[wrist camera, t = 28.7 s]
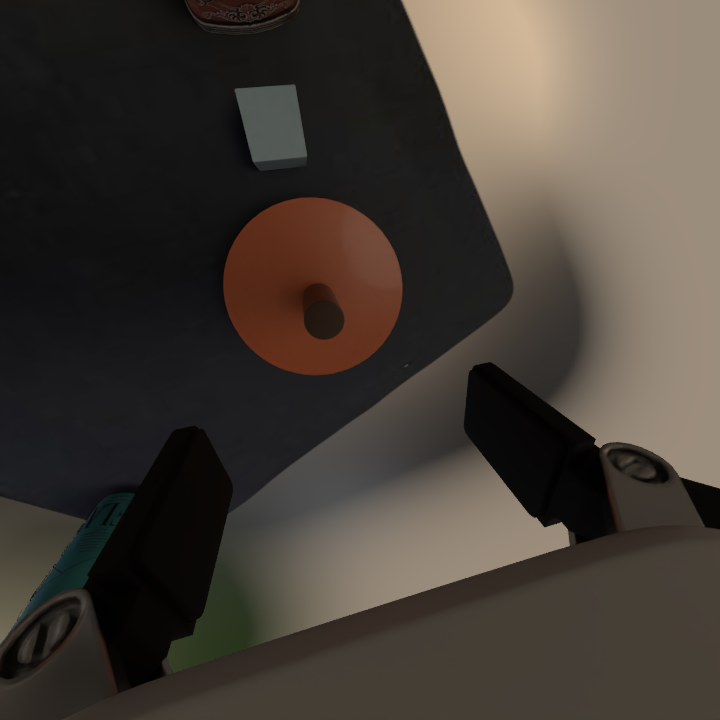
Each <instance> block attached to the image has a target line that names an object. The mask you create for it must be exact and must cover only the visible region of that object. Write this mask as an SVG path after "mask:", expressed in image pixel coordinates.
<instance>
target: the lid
mask: <svg viewBox="0 0 720 720" xmlns="http://www.w3.org/2000/svg"><path fill="white" fill-rule="evenodd" d="M223 291H224V298H225V304H226V307H227V310H228V314H229V316H230V319H231V321H232V323H233V325H234V327H235V329H236V330H237V332H238V334H239V335H240V337H241V338H242V339H243V340H244V342H245V343H246V344H247V345H248V346H249V347H250V348H251V349H252V350H253V351H254V352H255V353H256V354H258V355H259V356H260V357H262V358H263V359H264V360H266V361H268V362H269V363H271V364H273V365H275V366H277V367H279V368H281V369H284V370H287V371H290V372H294V373H299V374H306V375H325V374H332V373H336V372H340V371H343V370H346V369H349V368H351V367H353V366H355V365H357V364H359V363H361V362H362V361H364V360H365V359H367V358H368V357H370V356H371V355H372V354H373V353H374V352H375V351H376V350H377V349H378V348H379V347H380V346H381V345H382V344H383V343H384V341H385V340H386V339H387V337H388V336H389V334H390V332H391V331H392V329H393V327H394V325H395V322H396V320H397V317H398V314H399V310H400V307H401V300H402V277H401V271H400V267H399V263H398V260H397V257H396V255H395V252H394V250H393V248H392V246H391V244H390V242H389V241H388V239H387V238H386V237H385V235H384V234H383V232H382V231H381V230H380V229H379V228H378V227H377V226H376V225H375V224H374V222H372V221H371V220H370V219H369V218H367V217H366V216H365V215H364V214H362V213H361V212H359V211H357V210H356V209H354V208H352V207H350V206H348V205H345V204H343V203H341V202H337V201H334V200H330V199H325V198H315V197H308V198H296V199H291V200H286V201H284V202H281V203H278V204H275V205H273V206H271V207H269V208H268V209H266V210H264V211H262V212H261V213H259V214H258V215H257V216H256V217H254V218H253V219H252V220H251V221H250V222H249V223H248V224H247V225H246V226H245V227H244V228H243V229H242V230H241V232H240V233H239V235H238V236H237V238H236V239H235V241H234V243H233V245H232V247H231V249H230V251H229V254H228V257H227V261H226V264H225V270H224V277H223Z"/></svg>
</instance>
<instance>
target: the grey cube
mask: <svg viewBox="0 0 720 720" xmlns="http://www.w3.org/2000/svg"><path fill="white" fill-rule="evenodd" d="M235 93H236V97H237V101H238V105H239V109H240V113H241V117H242V121H243V125H244V129H245V133H246V137H247V141H248V145H249V149H250V153H251V157H252V161H253V163H254V164H255V165H256V167H257V168H258V169H259V170H260V171H266V170H275V169H284V168H294V167H303V166H306V161H307V152H306V146H305V140H304V135H303V129H302V123H301V117H300V111H299V105H298V99H297V93H296V87H295V85H282V86H267V87H253V88H239V89H235Z"/></svg>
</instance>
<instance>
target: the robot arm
mask: <svg viewBox="0 0 720 720" xmlns="http://www.w3.org/2000/svg"><path fill="white" fill-rule="evenodd" d="M464 419H465V420H464V429H465V432H466V434H467V435H468V437H469V438H470V439H471V441H472V442H473V443H474V444H475V446H476V447H477V448H478V449H479V451H480V452H481V453H482V455H483V456H484V457H485V458H486V460H487V461H488V462H489V463H490V465H491V466H492V467H493V469H494V470H495V471H496V472H497V474H498V475H499V476H500V478H501V479H502V480H503V481H504V483H505V484H506V485H507V487H508V488H509V489H510V490H511V492H512V493H513V494H514V495H515V497H516V498H517V499H518V501H519V502H520V503H521V504H522V506H523V507H524V508H525V509H526V511H527V512H528V513H529V514H530V515H531V516H532V517H534V518H535V517H537V519H538V520H539V521H540V522H541V524H542V525H543V526H544V527H547V526H551V525H554V524H557V523H560V522H562V523H563V524H564V525H565V526H566V528H567V529H568V532H569V543H570V546H569V547H566V548H562V549H558V550H555V551H552V552H548V553H546V554H542V555H539V556H536V557H532V558H530V559H526V560H523V561H520V562H516V563H513V564H510V565H507V566H504V567H501V568H497V569H494V570H491V571H488V572H484V573H481V574H478V575H475V576H472V577H469V578H465V579H462V580H459V581H456V582H453V583H450V584H447V585H443V586H440V587H437V588H434V589H431V590H427V591H424V592H421V593H418V594H415V595H412V596H408V597H405V598H403V599H399V600H396V601H393V602H390V603H387V604H383V605H380V606H377V607H374V608H371V609H368V610H365V611H362V612H358V613H356V614H352V615H349V616H346V617H343V618H340V619H337V620H333V621H330V622H327V623H324V624H321V625H318V626H315V627H312V628H309V629H306V630H302V631H299V632H296V633H293V634H290V635H287V636H284V637H281V638H278V639H275V640H272V641H269V642H265V643H262V644H259V645H256V646H253V647H250V648H247V649H244V650H241V651H238V652H235V653H232V654H228V655H225V656H222V657H219V658H217V659H214V660H211V661H208V662H205V663H202V664H199V665H196V666H193V667H191V668H188V669H185V670H182V671H179V672H176V673H173V671H172V669H171V666H170V664H169V662H168V659H167V654H168V651H169V648H170V644H171V641H174V640H177V639H180V638H184V637H187V636H190V635H193V631H194V627H195V623H196V620H197V619H198V618H200V617H201V616H202V614H203V612H204V609H205V605H206V600H207V596H208V592H209V588H210V584H211V580H212V576H213V571H214V568H215V563H216V559H217V555H218V551H219V547H220V543H221V539H222V535H223V530H224V525H225V522H226V518H227V514H228V510H229V506H230V501H231V497H232V493H233V485H232V482H231V480H230V478H229V476H228V474H227V472H226V470H225V469H224V467H223V465H222V463H221V461H220V459H219V457H218V455H217V453H216V452H215V450H214V448H213V446H212V444H211V442H210V440H209V438H208V437H207V435H206V433H205V431H204V430H203V429H198V428H197V427H196V426H190V427H186V428H181V429H177V430H174V431H173V432H172V433H171V435H170V437H169V438H168V440H167V442H166V443H165V445H164V447H163V448H162V450H161V452H160V453H159V455H158V457H157V458H156V460H155V462H154V463H153V465H152V467H151V468H150V470H149V472H148V473H147V475H146V477H145V478H144V480H143V482H142V483H141V485H140V487H139V489H138V490H137V492H136V494H135V495H134V497H133V499H132V500H131V502H130V504H129V505H128V507H127V509H126V510H125V512H124V514H123V515H122V517H121V519H120V520H119V522H118V524H117V525H116V527H115V529H114V530H113V532H112V534H111V535H110V537H109V539H108V540H107V542H106V544H105V546H104V547H103V549H102V551H101V552H100V554H99V556H98V557H97V559H96V561H95V562H94V564H93V566H92V567H91V569H90V571H89V572H88V574H87V576H88V577H89V578H88V580H87V582H86V583H85V585H84V587H83V588H79V587H78V588H73V589H68V590H66V591H63V592H61V593H59V594H57V595H55V596H53V597H51V598H50V599H48V600H47V601H45V602H44V603H42V604H41V605H39V606H38V607H37V608H36V609H35V610H33V611H32V612H31V613H30V614H29V615H27V616H26V617H25V618H24V619H23V620H22V621H21V622H20V623H19V624H18V625H17V626H16V627H15V628H14V629H13V630H12V631H11V632H10V633H9V635H8V636H7V637H6V639H5V640H4V641H3V643H2V644H1V645H0V720H720V489H719V488H716V487H712V486H709V485H705V484H702V483H698V482H695V481H691V480H688V479H684V478H681V477H679V475H678V474H677V473H676V471H675V470H674V469H673V467H672V466H671V465H670V464H669V463H667V462H666V461H665V460H664V459H663V458H661V457H659V456H658V455H656V454H654V453H653V452H651V451H648V450H646V449H644V448H642V447H638V446H635V445H632V444H627V443H620V442H615V443H614V442H613V443H607V444H605V445H603V446H602V447H601V448H599V447H597V446H596V445H594V442H595V440H596V439H595V438H594V437H592V436H591V435H590V434H588V433H587V432H585V431H584V430H583V429H581V428H580V427H579V426H577V425H576V424H574V423H573V422H572V421H570V420H569V419H568V418H566V417H565V416H564V415H562V414H561V413H560V412H558V411H557V410H556V409H554V408H553V407H551V406H550V405H549V404H547V403H546V402H545V401H543V400H542V399H540V398H539V397H538V396H537V395H535V394H534V393H532V392H531V391H530V390H528V389H527V388H526V387H524V386H523V385H522V384H520V383H519V382H518V381H516V380H515V379H513V378H512V377H510V376H509V375H508V374H507V373H505V372H504V371H503V370H501V369H500V368H499V367H497V366H496V365H494V364H493V363H491V362H488V363H483V364H479V365H475V366H474V367H473V369H472V370H471V371H470V372H469V376H468V387H467V397H466V409H465V418H464Z"/></svg>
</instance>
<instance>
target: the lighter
mask: <svg viewBox="0 0 720 720" xmlns="http://www.w3.org/2000/svg"><path fill="white" fill-rule="evenodd" d="M185 3H186V5H187V7H188V9H189V11H190V13H191V15H192V17H193V18H194V20H195V21H196V23H197V24H198V25H199V26H200V27H201V28H202V29H203V30H205V31H208V32H212V33H220V34H229V35H239V34H255V33H259V32H262V31H266V30H270V29H274V28H276V27H278V26H280V25H283V24H285V23H287V22H289V21H291V20H293V19H294V18H295V17H296V15H297V13H298V11H299V4H300V0H185Z"/></svg>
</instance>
